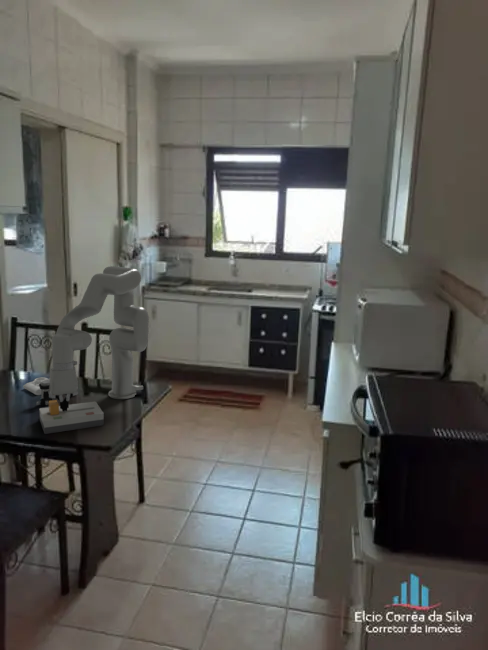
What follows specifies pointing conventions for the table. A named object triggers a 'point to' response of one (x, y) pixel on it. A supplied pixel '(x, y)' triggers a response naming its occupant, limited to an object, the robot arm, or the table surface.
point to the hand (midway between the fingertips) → (64, 409)
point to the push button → (44, 393)
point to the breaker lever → (53, 407)
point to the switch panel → (72, 417)
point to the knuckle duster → (35, 385)
